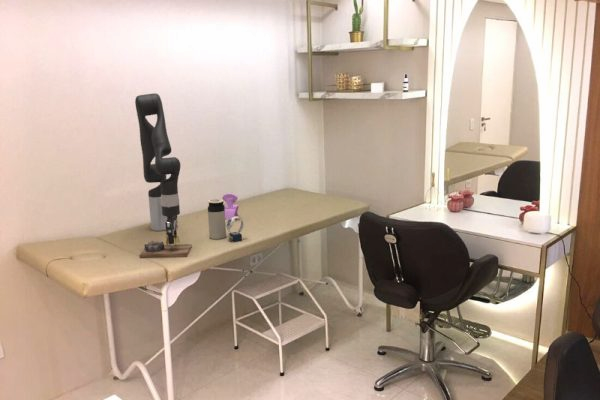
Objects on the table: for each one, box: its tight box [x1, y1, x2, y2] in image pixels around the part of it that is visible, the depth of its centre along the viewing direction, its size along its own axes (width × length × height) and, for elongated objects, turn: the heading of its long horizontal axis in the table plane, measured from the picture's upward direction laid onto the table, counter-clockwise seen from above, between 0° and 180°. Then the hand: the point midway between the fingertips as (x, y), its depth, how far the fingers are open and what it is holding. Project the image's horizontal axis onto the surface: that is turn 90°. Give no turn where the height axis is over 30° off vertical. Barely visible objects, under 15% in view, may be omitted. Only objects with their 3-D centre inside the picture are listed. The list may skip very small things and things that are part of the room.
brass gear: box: [164, 234, 181, 245], centre depth 232 cm, size 6×6×3 cm
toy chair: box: [221, 192, 239, 220], centre depth 286 cm, size 8×9×15 cm
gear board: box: [139, 240, 193, 259], centre depth 233 cm, size 13×20×6 cm, turn 93°
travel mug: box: [207, 198, 227, 240], centre depth 254 cm, size 8×8×18 cm
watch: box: [226, 217, 245, 243], centre depth 249 cm, size 6×8×11 cm
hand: (172, 241), depth 232 cm, fingers closed on brass gear, 6 cm apart
